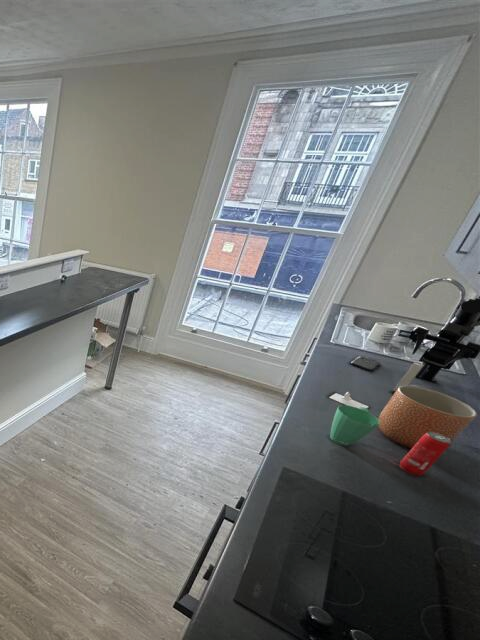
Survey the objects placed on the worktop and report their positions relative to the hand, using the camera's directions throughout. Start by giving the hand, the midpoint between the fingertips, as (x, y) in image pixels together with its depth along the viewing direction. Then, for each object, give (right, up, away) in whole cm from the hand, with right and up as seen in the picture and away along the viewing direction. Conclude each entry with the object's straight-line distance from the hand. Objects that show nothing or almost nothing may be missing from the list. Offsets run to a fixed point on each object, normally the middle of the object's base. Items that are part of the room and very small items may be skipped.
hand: (428, 358), depth 151 cm
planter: (-36, -28, -24) cm, 52 cm away
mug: (-57, -27, -26) cm, 69 cm away
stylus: (-9, -13, +3) cm, 16 cm away
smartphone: (+1, -1, +25) cm, 25 cm away
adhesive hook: (-36, -16, -6) cm, 40 cm away
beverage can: (-48, -34, -37) cm, 70 cm away
